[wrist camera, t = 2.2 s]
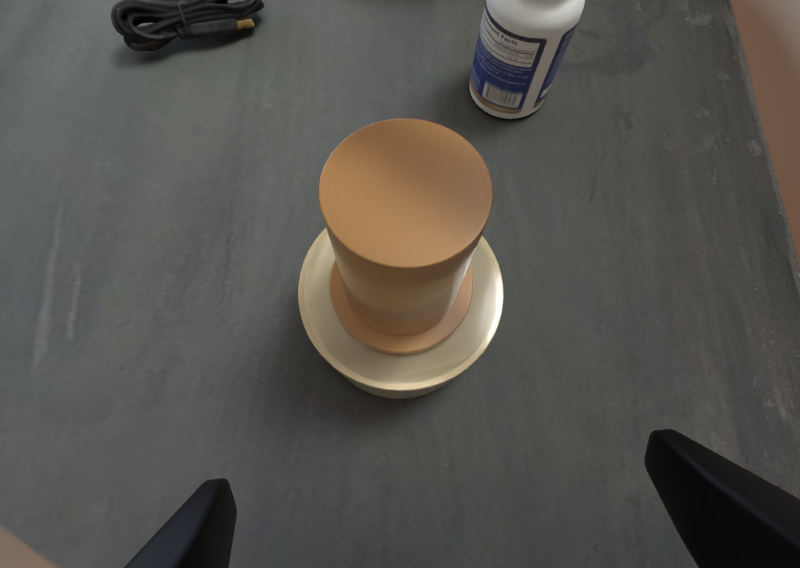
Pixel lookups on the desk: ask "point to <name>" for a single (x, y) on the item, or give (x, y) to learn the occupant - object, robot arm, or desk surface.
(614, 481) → the desk surface
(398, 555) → the desk surface
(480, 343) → the cream ceramic pot
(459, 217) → the flanged wooden cylinder
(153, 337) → the desk surface
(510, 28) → the pill bottle
